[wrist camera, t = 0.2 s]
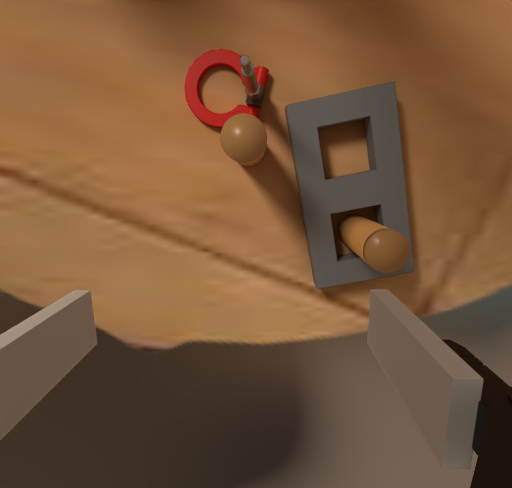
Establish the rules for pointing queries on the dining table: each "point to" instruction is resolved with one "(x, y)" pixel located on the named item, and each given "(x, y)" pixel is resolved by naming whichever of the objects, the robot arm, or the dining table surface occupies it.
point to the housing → (349, 177)
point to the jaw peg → (244, 139)
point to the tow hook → (249, 74)
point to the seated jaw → (374, 243)
